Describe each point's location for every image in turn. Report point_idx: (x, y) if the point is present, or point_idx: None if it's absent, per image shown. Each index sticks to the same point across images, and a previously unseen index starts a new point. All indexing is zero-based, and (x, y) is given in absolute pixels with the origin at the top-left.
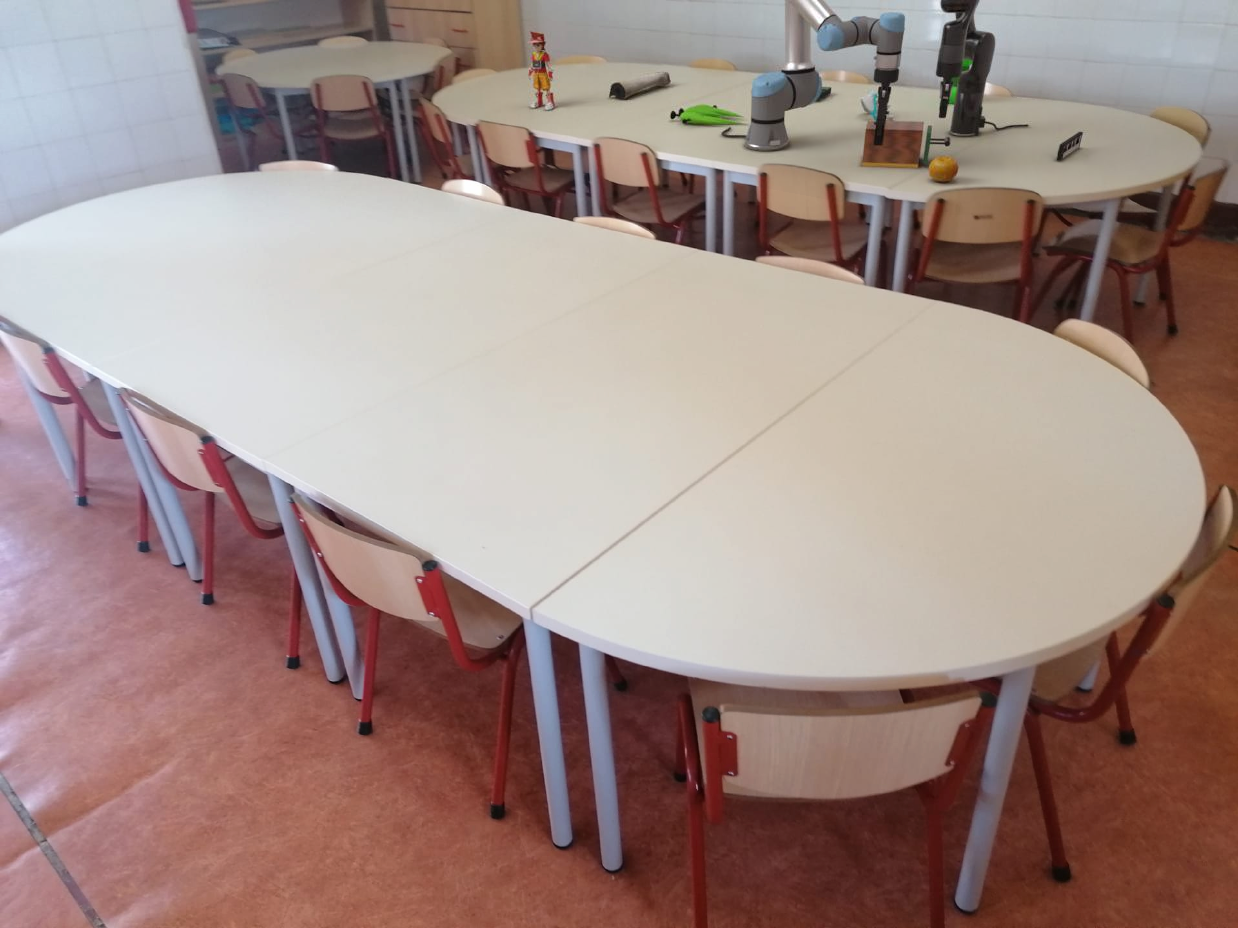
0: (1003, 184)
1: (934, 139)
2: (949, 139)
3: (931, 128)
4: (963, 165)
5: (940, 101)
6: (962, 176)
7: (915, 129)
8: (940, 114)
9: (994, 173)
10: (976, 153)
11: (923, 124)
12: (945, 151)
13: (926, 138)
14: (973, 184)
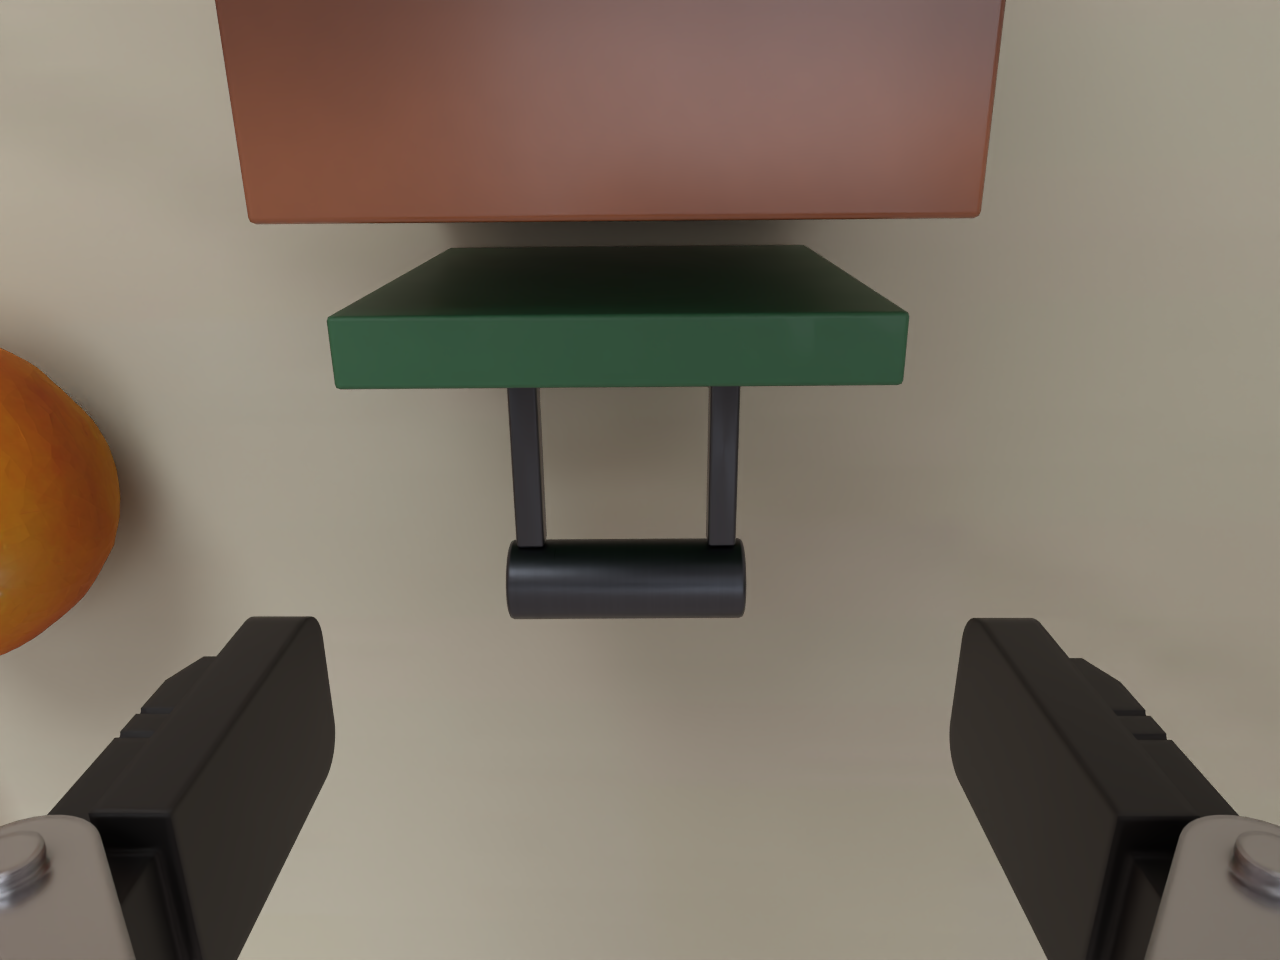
0: None
1: (712, 406)
2: (634, 616)
3: (675, 382)
4: (606, 649)
5: (1088, 763)
6: None
7: (277, 42)
8: (163, 690)
9: (401, 877)
10: None
11: (754, 218)
12: (1119, 481)
13: (647, 285)
14: (22, 723)
